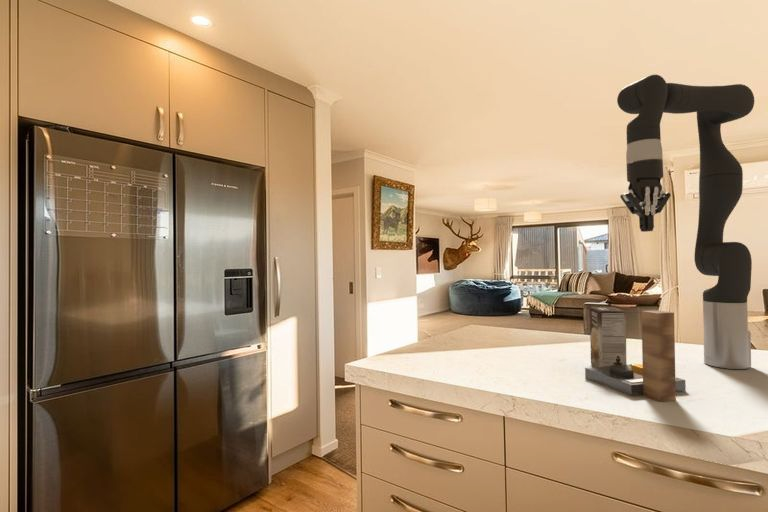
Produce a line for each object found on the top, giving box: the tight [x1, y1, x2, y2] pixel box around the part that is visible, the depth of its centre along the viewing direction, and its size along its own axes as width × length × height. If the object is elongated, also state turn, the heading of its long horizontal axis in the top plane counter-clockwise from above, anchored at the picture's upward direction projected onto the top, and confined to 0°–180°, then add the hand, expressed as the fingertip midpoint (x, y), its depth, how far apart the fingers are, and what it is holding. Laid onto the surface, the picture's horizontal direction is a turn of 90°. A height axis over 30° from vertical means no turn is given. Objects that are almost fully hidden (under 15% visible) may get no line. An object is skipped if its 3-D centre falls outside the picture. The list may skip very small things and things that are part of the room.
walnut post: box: [641, 309, 677, 403], centre depth 85 cm, size 4×4×18 cm
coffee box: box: [589, 306, 627, 367], centre depth 107 cm, size 9×6×16 cm
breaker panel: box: [584, 363, 687, 398], centre depth 94 cm, size 14×14×4 cm
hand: (646, 231), depth 100 cm, fingers closed
